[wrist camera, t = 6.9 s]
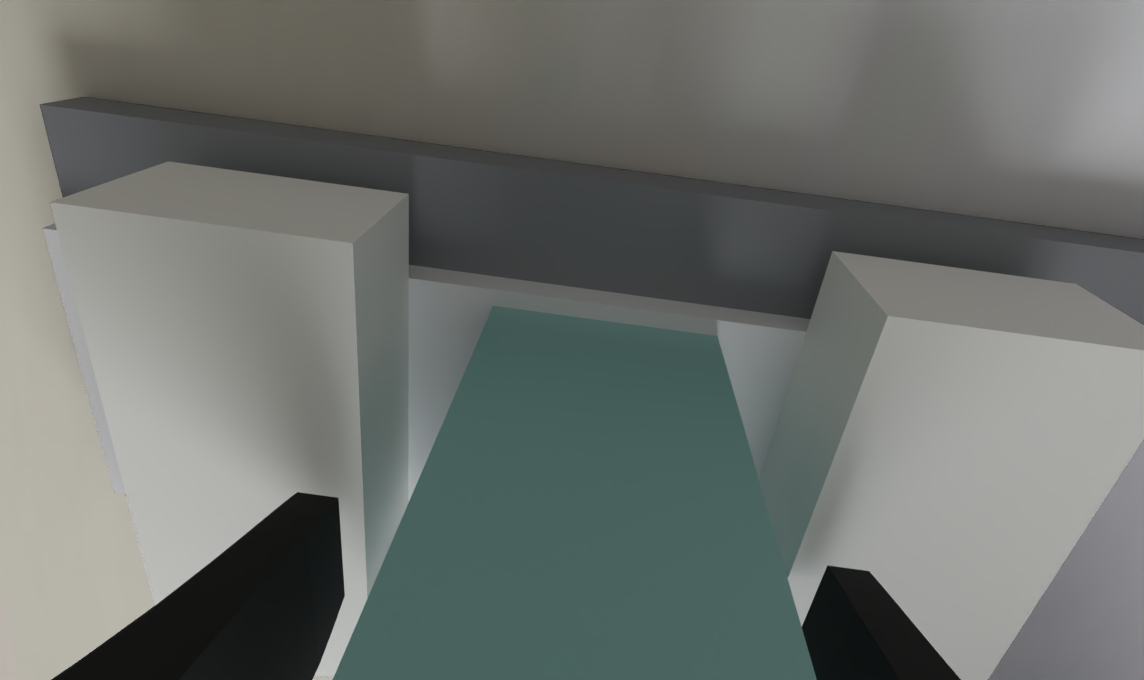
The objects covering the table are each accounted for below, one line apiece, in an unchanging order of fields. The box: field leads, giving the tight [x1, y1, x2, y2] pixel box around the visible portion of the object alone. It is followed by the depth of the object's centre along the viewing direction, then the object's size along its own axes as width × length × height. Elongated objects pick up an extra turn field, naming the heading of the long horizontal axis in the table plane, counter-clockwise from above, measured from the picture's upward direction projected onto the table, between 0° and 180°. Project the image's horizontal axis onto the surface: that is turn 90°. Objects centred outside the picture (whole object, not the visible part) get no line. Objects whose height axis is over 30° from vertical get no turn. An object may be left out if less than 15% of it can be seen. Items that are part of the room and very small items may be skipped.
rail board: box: [40, 97, 1144, 680], centre depth 12 cm, size 20×10×4 cm, turn 84°
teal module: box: [333, 306, 817, 680], centre depth 9 cm, size 4×6×8 cm, turn 174°
